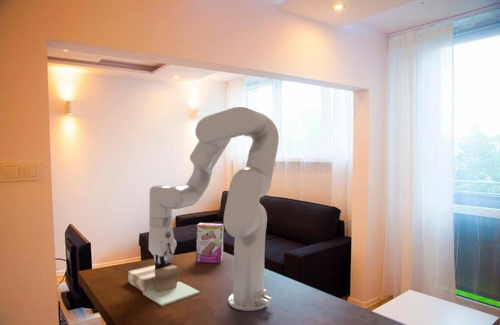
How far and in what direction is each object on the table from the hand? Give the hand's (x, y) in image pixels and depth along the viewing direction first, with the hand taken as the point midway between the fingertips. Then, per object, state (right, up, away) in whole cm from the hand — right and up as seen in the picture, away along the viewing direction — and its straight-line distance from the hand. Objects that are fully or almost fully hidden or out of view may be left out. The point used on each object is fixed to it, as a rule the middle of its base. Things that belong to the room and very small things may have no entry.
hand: (160, 274), depth 112 cm
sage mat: (+5, -5, -5) cm, 9 cm away
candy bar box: (+14, -5, +29) cm, 32 cm away
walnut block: (+3, 0, -3) cm, 4 cm away
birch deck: (-4, -4, +4) cm, 7 cm away
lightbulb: (-3, -4, +26) cm, 26 cm away
